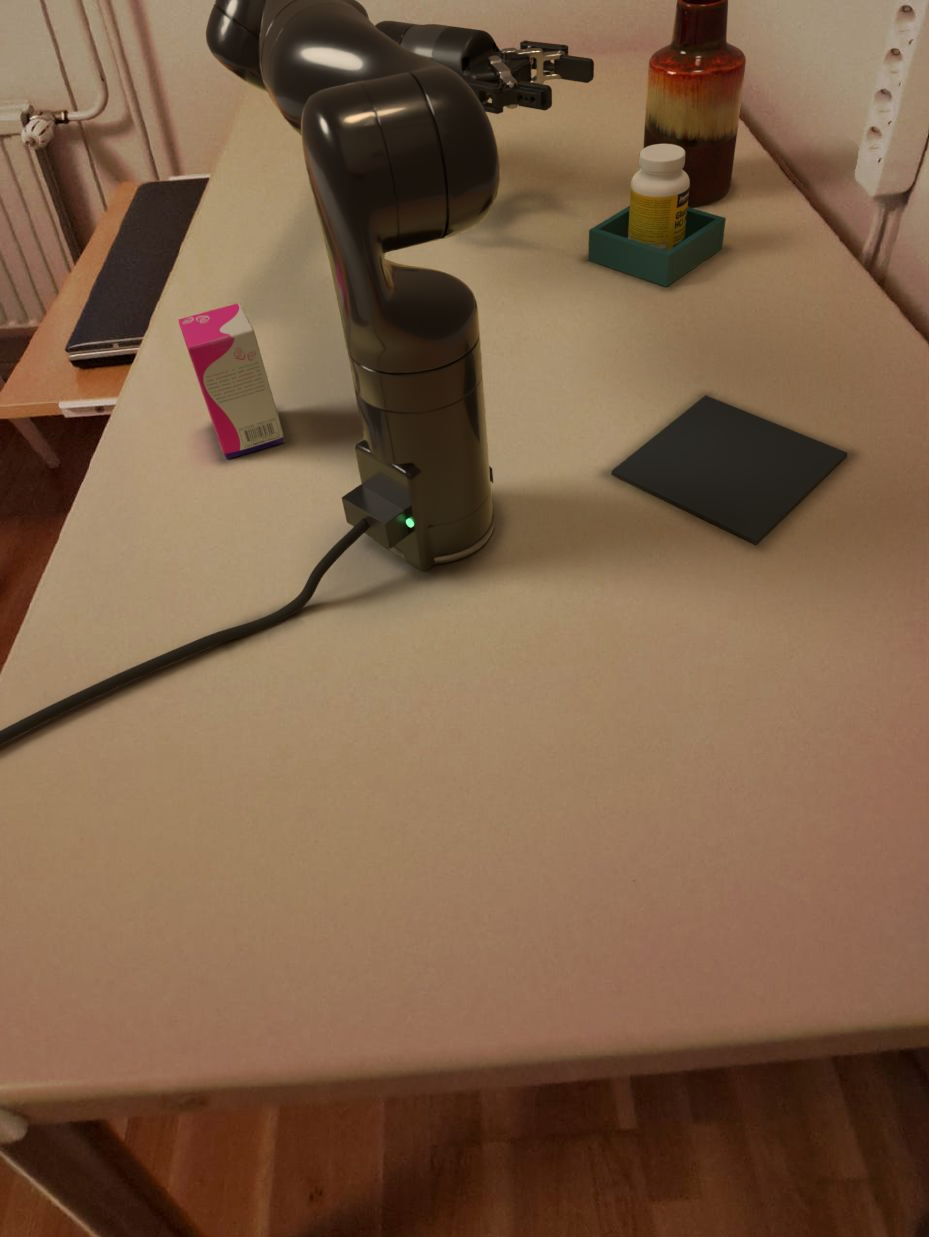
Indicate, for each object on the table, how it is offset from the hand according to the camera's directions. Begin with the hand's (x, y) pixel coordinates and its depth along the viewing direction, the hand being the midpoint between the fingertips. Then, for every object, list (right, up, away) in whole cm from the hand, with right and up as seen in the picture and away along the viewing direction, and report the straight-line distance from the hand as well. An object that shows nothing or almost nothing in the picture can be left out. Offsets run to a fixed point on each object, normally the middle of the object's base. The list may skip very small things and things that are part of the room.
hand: (571, 84), depth 98 cm
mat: (+11, -43, -19) cm, 48 cm away
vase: (+16, -3, +18) cm, 24 cm away
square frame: (+10, -15, +7) cm, 19 cm away
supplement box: (-31, -39, -11) cm, 51 cm away
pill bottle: (+10, -15, +7) cm, 20 cm away
